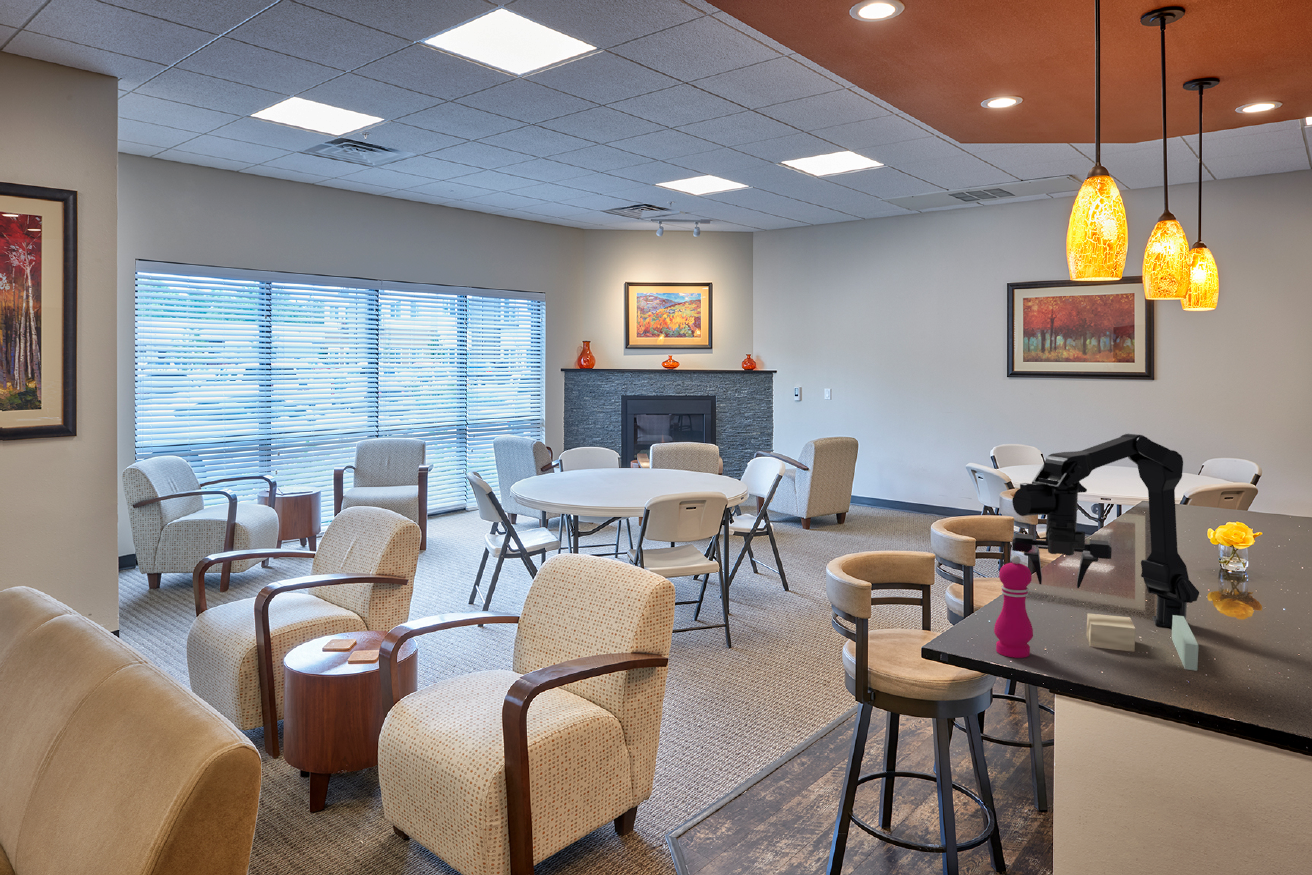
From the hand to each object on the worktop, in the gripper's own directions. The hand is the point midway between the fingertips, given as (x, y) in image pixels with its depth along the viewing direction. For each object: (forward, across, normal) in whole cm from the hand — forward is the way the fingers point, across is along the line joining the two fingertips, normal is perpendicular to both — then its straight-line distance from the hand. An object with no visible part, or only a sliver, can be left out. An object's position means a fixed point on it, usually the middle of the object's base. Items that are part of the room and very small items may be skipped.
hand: (1059, 585), depth 176 cm
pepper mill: (+11, -8, -15) cm, 20 cm away
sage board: (+11, +23, -1) cm, 25 cm away
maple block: (+11, +10, 0) cm, 15 cm away
